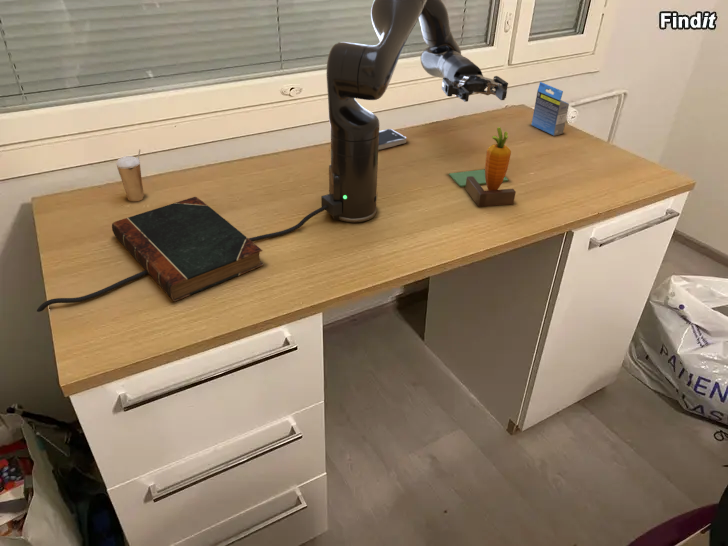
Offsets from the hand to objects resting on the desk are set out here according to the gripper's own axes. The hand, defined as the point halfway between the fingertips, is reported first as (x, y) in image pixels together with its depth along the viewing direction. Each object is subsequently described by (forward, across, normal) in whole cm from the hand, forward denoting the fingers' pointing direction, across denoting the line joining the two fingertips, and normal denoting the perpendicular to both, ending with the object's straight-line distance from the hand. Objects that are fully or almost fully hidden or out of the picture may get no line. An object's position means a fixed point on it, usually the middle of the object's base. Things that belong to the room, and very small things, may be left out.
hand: (485, 96), depth 128 cm
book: (+25, -65, +18) cm, 72 cm away
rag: (+4, 0, +18) cm, 18 cm away
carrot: (+12, 0, +18) cm, 22 cm away
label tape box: (-22, +29, +18) cm, 41 cm away
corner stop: (+12, -1, +18) cm, 22 cm away
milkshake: (+2, -76, +18) cm, 78 cm away
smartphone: (-19, -20, +18) cm, 33 cm away
